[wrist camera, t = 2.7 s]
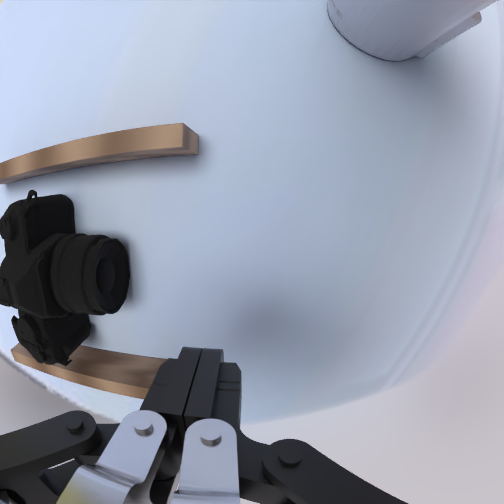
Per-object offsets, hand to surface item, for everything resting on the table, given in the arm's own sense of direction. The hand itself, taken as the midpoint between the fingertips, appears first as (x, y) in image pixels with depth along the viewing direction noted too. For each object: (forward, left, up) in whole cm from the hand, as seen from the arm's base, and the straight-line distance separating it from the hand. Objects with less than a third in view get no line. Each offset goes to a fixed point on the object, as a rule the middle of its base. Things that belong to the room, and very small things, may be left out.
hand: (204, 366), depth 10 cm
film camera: (+13, 0, -12) cm, 18 cm away
